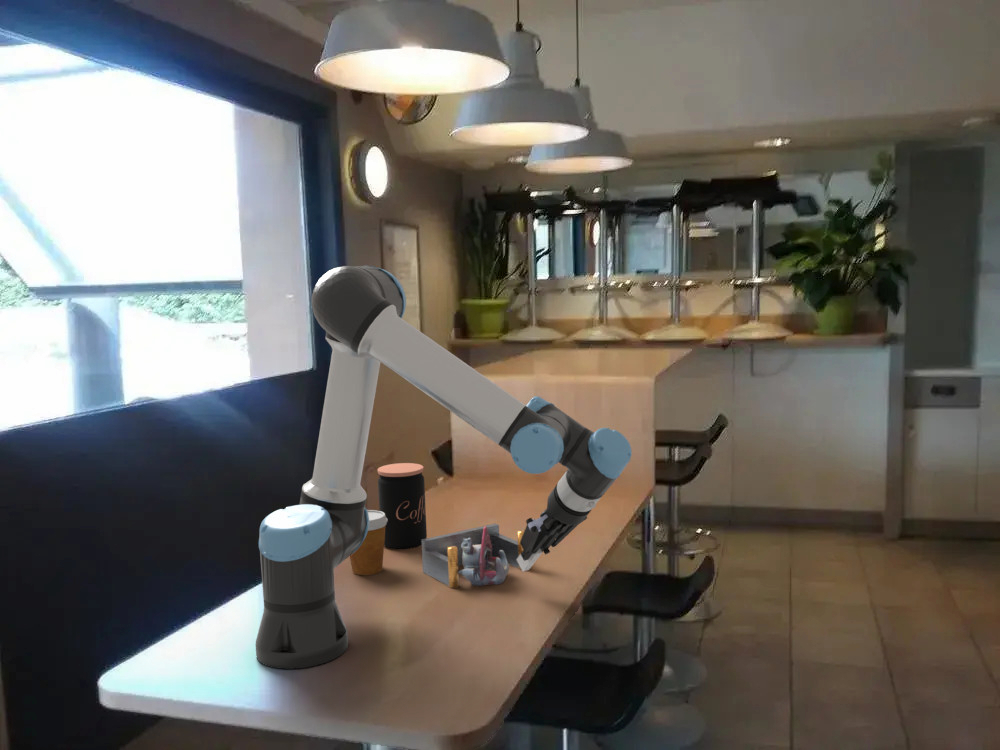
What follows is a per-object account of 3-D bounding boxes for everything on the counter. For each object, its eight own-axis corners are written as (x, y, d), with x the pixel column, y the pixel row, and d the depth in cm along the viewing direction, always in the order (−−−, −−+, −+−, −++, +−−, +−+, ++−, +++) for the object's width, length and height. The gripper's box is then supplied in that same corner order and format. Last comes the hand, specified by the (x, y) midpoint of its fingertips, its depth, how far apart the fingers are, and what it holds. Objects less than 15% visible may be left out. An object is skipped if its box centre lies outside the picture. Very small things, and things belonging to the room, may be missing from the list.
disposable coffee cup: (335, 571, 186) (332, 516, 185) (370, 560, 193) (368, 507, 192) (363, 581, 180) (360, 524, 178) (399, 569, 186) (396, 514, 185)
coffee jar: (398, 553, 197) (394, 475, 195) (372, 543, 205) (368, 468, 203) (436, 543, 204) (432, 467, 202) (409, 533, 212) (406, 460, 210)
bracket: (452, 588, 173) (450, 549, 173) (421, 572, 184) (420, 535, 183) (530, 568, 184) (528, 531, 183) (497, 553, 194) (495, 518, 193)
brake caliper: (515, 577, 172) (477, 530, 172) (473, 609, 174) (435, 562, 174) (522, 559, 183) (486, 514, 183) (482, 589, 185) (447, 545, 185)
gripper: (555, 520, 148) (503, 589, 164) (613, 507, 155) (558, 574, 171) (535, 484, 152) (486, 555, 167) (593, 472, 159) (540, 541, 175)
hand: (522, 564), depth 169 cm, fingers closed
